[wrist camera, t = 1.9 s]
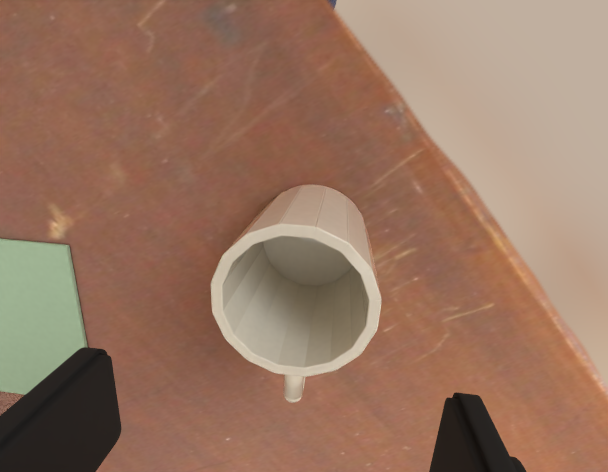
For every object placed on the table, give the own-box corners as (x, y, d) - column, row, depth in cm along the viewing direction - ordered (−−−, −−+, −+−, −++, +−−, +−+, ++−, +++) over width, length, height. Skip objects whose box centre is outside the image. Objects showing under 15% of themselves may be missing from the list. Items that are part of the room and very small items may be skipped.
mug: (258, 180, 21) (207, 217, 13) (373, 188, 21) (391, 233, 13) (257, 320, 25) (215, 417, 17) (356, 331, 24) (362, 437, 16)
